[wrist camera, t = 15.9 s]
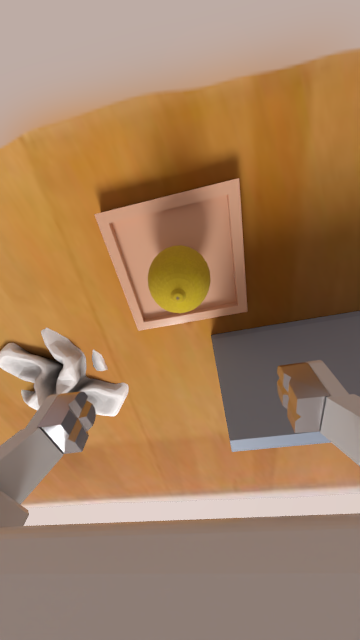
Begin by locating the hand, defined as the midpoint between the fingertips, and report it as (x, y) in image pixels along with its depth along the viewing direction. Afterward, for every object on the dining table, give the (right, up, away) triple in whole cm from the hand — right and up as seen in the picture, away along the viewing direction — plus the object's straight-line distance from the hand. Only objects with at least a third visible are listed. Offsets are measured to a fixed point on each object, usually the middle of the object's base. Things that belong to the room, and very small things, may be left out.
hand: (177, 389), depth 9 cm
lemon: (0, +9, +14) cm, 16 cm away
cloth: (-18, -5, +24) cm, 30 cm away
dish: (0, +9, +15) cm, 17 cm away
